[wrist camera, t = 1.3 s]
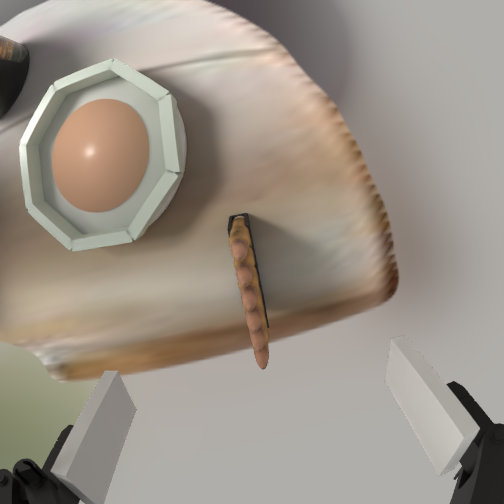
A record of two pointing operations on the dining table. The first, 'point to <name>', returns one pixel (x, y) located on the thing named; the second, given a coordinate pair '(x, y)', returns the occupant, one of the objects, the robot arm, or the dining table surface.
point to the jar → (11, 72)
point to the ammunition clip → (249, 285)
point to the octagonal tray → (102, 156)
